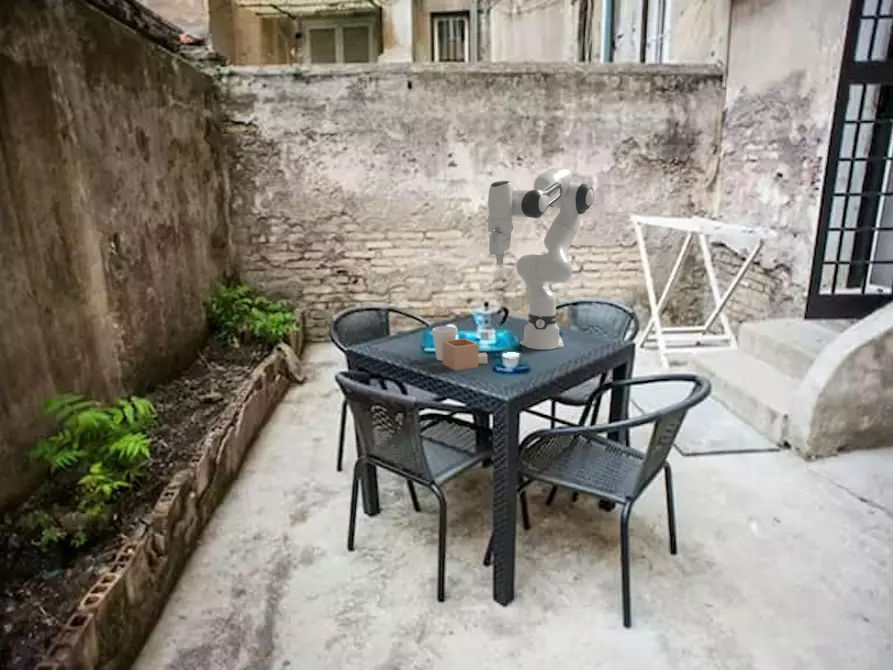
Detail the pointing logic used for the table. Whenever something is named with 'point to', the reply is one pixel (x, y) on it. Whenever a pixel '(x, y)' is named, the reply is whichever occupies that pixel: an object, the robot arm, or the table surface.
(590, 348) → the table surface
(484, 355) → the limestone block
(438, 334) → the foam cup
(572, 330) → the table surface
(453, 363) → the planter
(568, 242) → the robot arm
